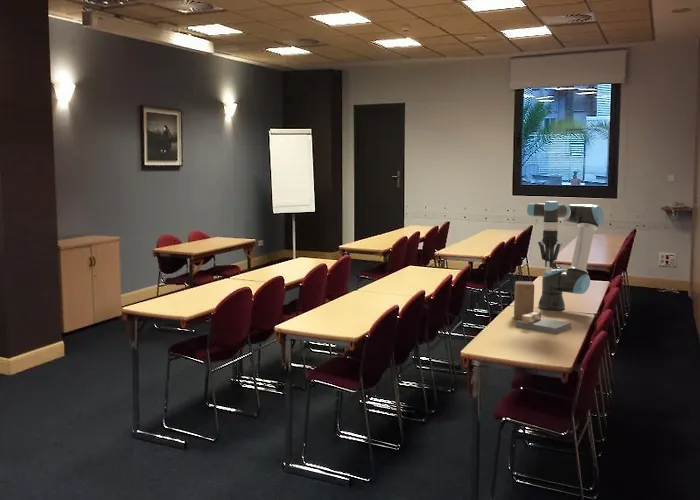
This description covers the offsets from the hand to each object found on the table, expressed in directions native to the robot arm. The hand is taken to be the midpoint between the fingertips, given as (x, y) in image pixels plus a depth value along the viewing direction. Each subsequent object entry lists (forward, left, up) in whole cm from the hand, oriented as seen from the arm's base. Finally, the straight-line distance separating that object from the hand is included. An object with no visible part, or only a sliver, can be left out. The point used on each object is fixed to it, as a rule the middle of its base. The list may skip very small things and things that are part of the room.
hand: (548, 273), depth 359 cm
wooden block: (+4, -12, -27) cm, 29 cm away
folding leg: (+19, +1, -23) cm, 30 cm away
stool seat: (+16, +7, -26) cm, 32 cm away
